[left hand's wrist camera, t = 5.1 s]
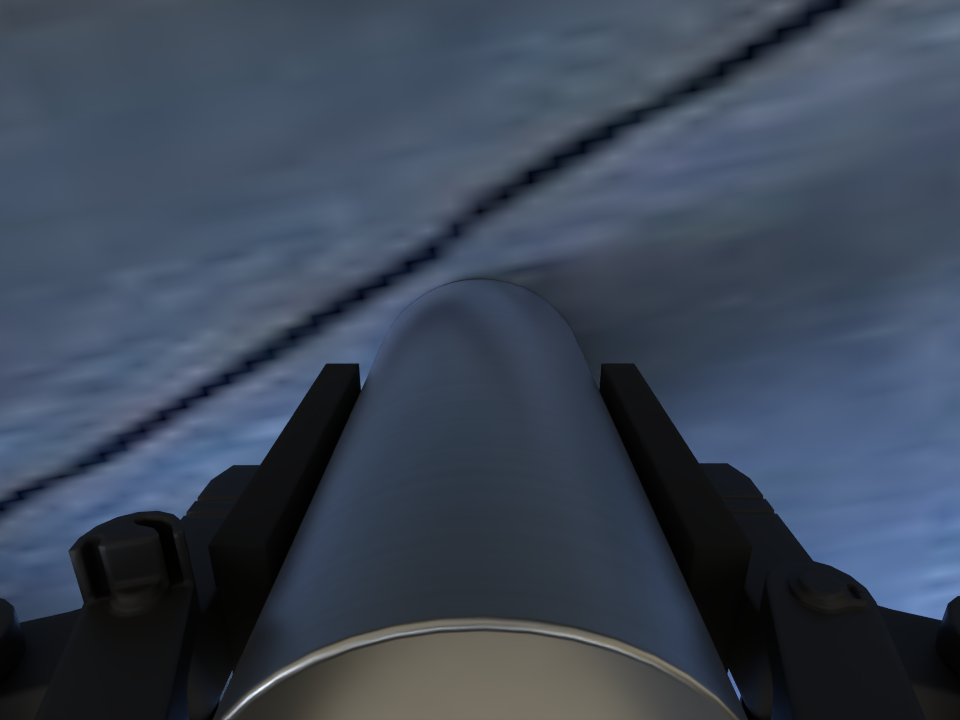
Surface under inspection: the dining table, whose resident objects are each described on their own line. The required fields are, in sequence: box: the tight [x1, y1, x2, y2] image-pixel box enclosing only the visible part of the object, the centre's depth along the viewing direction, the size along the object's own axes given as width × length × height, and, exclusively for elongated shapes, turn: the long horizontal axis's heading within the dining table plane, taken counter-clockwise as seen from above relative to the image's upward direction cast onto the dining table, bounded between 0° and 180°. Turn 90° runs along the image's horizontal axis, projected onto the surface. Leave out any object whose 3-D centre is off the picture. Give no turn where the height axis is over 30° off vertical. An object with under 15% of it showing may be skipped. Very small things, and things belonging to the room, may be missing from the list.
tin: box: [213, 279, 748, 720], centre depth 11 cm, size 6×6×12 cm
